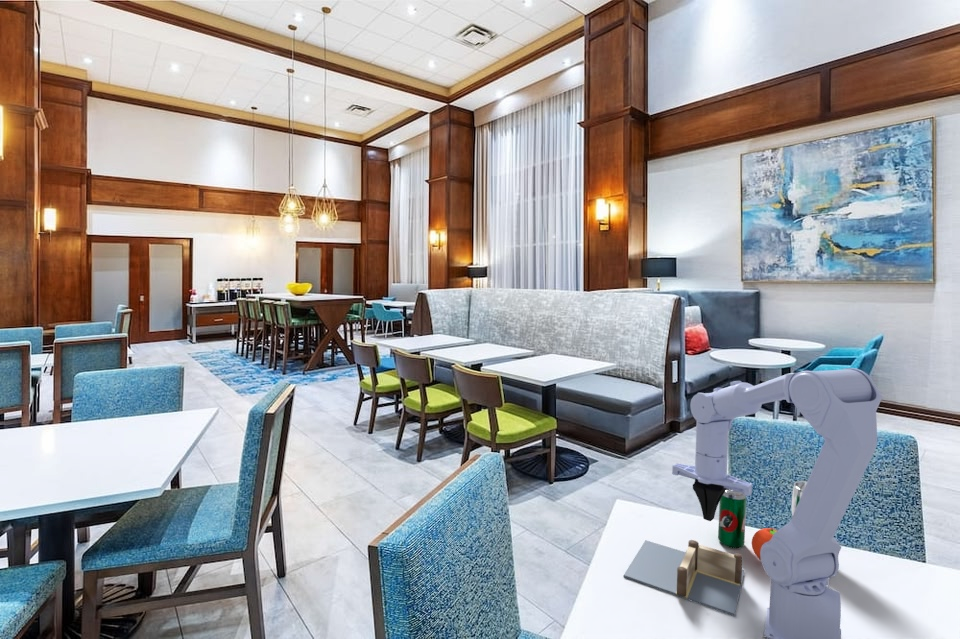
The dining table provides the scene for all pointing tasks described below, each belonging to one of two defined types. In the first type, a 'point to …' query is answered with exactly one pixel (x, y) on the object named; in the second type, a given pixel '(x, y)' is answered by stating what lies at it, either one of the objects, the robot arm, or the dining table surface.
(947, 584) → the dining table surface
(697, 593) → the card
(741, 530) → the soda can
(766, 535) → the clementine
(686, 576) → the panel
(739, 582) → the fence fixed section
